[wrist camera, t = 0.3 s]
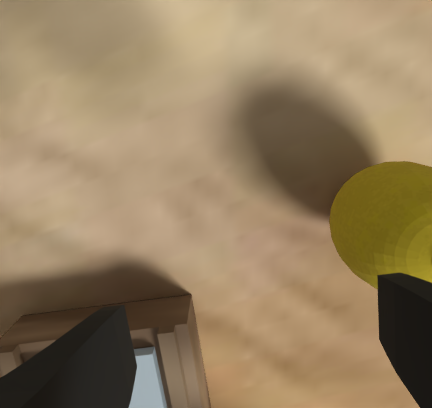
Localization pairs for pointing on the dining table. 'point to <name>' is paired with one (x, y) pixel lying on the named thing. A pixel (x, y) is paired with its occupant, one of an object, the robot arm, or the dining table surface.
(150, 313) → the case
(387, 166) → the lemon
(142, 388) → the lid
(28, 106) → the dining table surface
